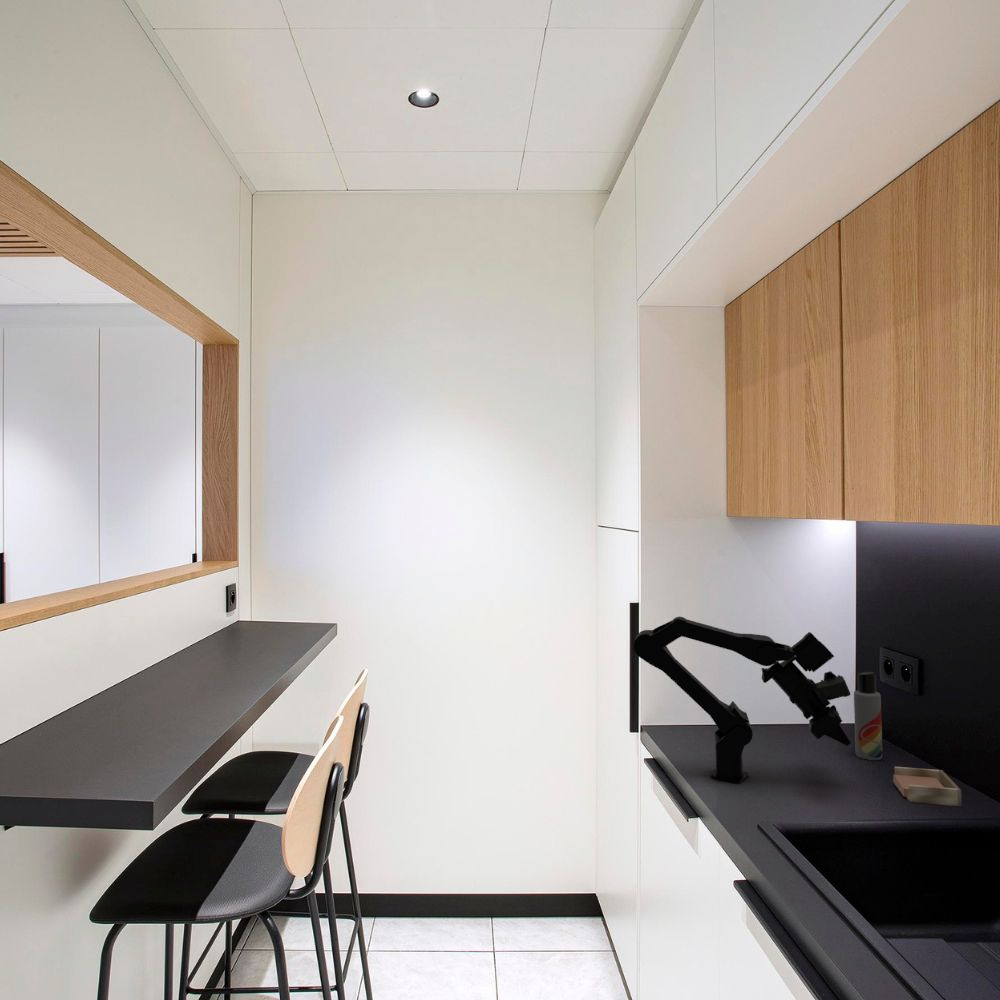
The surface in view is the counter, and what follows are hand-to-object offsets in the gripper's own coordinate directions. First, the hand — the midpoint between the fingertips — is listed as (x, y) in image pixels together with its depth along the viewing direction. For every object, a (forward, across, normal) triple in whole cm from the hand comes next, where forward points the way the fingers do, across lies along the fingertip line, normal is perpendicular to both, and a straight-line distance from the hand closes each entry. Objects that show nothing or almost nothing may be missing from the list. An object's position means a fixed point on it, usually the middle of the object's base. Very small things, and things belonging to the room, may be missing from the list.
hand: (848, 744), depth 147 cm
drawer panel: (+12, -1, -2) cm, 12 cm away
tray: (+16, 0, -5) cm, 17 cm away
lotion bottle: (+12, +21, +1) cm, 24 cm away
